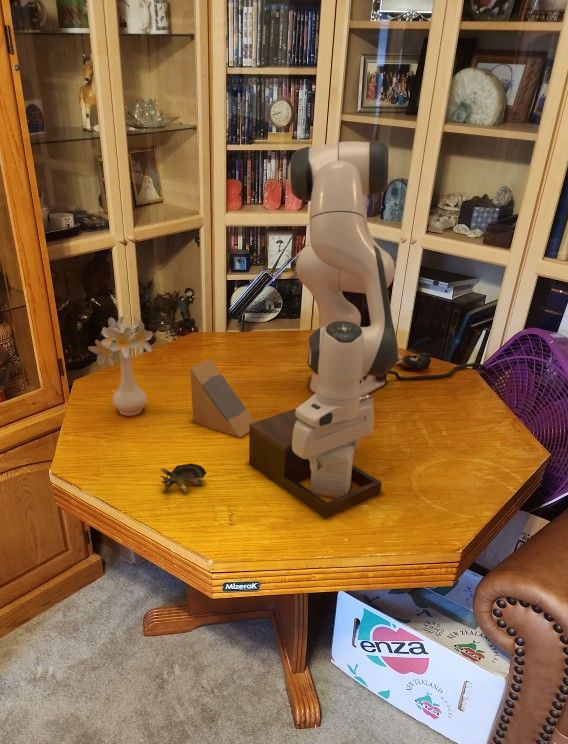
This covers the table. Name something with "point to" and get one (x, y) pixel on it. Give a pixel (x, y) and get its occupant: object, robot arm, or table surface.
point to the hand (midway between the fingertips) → (331, 463)
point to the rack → (298, 465)
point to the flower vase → (124, 362)
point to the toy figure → (415, 360)
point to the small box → (333, 472)
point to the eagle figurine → (183, 475)
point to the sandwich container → (217, 401)
